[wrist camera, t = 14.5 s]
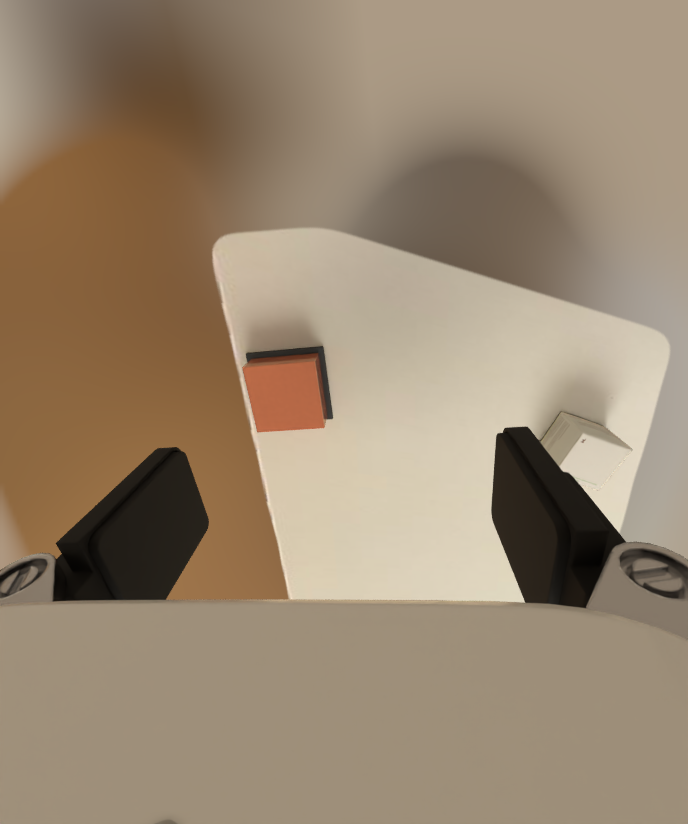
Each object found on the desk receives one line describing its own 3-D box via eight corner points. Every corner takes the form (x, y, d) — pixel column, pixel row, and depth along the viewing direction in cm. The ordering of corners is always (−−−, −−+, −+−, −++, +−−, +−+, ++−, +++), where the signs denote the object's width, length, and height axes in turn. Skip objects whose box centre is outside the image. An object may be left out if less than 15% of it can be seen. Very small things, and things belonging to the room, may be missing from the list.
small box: (531, 452, 42) (550, 476, 37) (560, 409, 40) (584, 430, 35) (576, 467, 42) (600, 493, 38) (606, 426, 40) (636, 449, 36)
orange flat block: (318, 352, 38) (314, 361, 36) (327, 415, 41) (324, 428, 39) (251, 358, 39) (241, 367, 36) (264, 420, 42) (257, 432, 39)
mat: (323, 346, 38) (322, 347, 38) (332, 417, 42) (332, 419, 41) (246, 353, 39) (245, 354, 39) (262, 422, 43) (261, 423, 42)
